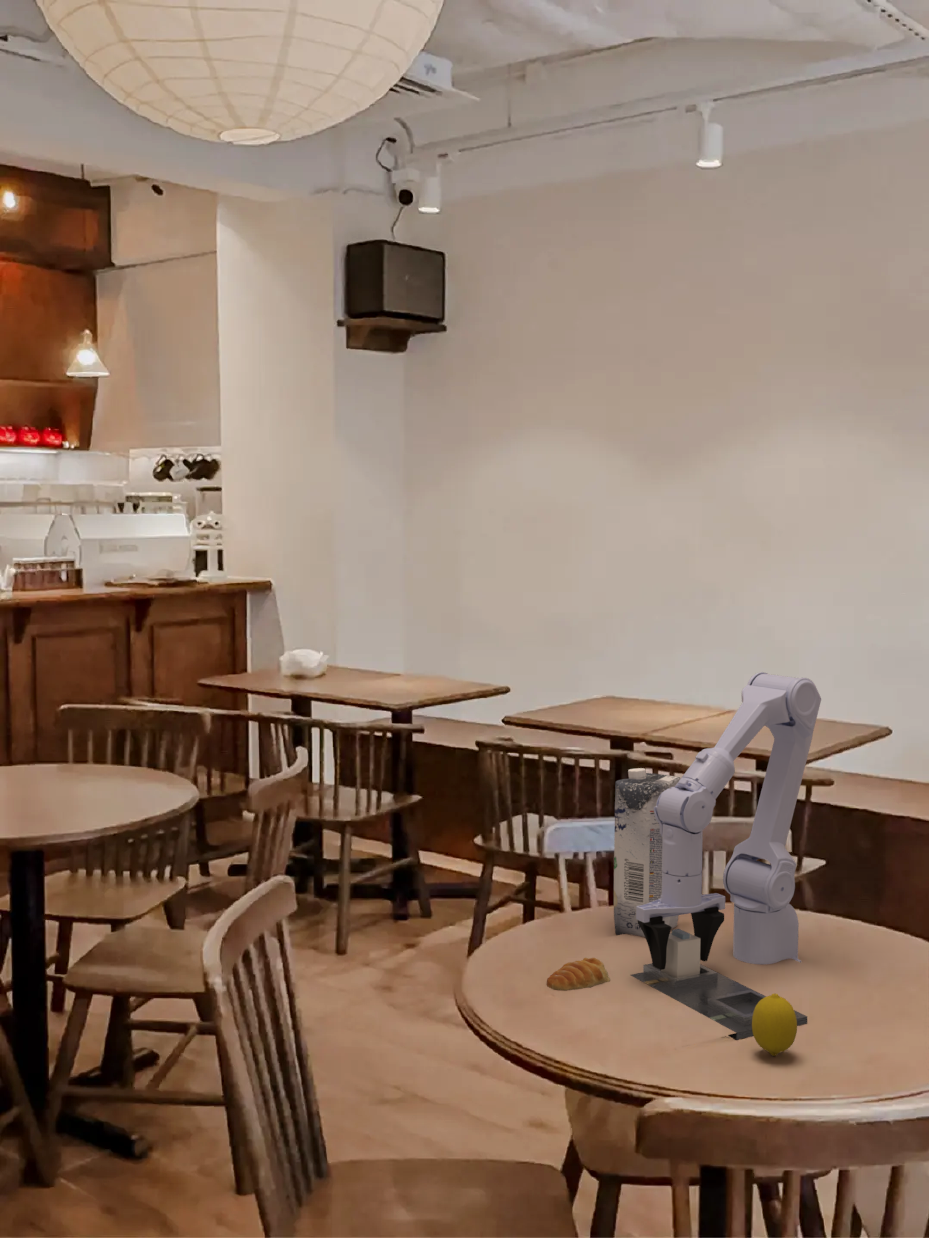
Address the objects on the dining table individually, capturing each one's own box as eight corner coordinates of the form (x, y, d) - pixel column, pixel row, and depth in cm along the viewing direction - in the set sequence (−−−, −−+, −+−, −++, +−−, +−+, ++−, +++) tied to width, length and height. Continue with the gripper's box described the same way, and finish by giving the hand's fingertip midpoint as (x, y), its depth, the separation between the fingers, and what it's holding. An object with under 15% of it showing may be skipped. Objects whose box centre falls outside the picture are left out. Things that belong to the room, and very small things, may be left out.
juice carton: (684, 929, 213) (686, 767, 211) (658, 947, 205) (660, 778, 202) (634, 920, 218) (636, 762, 216) (607, 937, 209) (609, 772, 207)
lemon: (745, 1047, 166) (746, 986, 165) (787, 1046, 166) (789, 985, 166) (759, 1065, 160) (760, 1002, 160) (802, 1063, 161) (804, 1001, 160)
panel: (696, 968, 195) (696, 954, 195) (807, 1023, 174) (807, 1007, 174) (630, 981, 189) (630, 966, 189) (736, 1039, 168) (736, 1023, 168)
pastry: (567, 1003, 181) (567, 976, 181) (534, 990, 186) (534, 964, 186) (614, 988, 187) (614, 962, 187) (581, 975, 192) (581, 950, 192)
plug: (682, 970, 191) (683, 925, 191) (699, 978, 188) (700, 933, 187) (660, 974, 189) (661, 929, 189) (677, 983, 186) (678, 937, 185)
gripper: (704, 858, 194) (703, 947, 195) (624, 870, 188) (623, 962, 189) (735, 870, 188) (733, 961, 189) (653, 882, 181) (651, 977, 182)
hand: (680, 963), depth 188 cm, fingers open, 7 cm apart
